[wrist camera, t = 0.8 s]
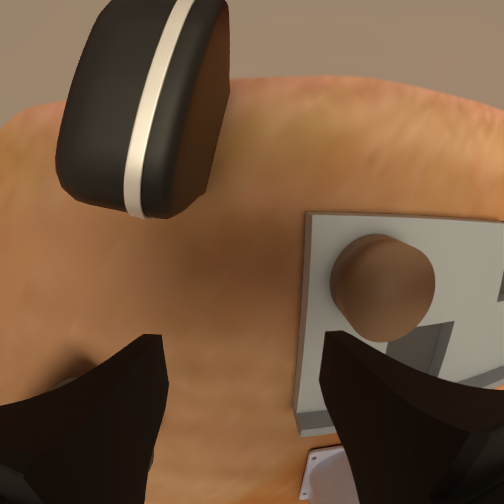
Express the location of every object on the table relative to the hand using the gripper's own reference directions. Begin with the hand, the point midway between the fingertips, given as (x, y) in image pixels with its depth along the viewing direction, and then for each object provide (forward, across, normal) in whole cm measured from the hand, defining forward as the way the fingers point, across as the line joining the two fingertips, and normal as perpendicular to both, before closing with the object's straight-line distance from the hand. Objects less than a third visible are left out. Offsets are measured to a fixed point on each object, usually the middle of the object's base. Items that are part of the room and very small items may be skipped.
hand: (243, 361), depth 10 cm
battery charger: (+10, +3, -8) cm, 13 cm away
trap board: (+9, -18, +3) cm, 21 cm away
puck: (+8, -8, 0) cm, 11 cm away
